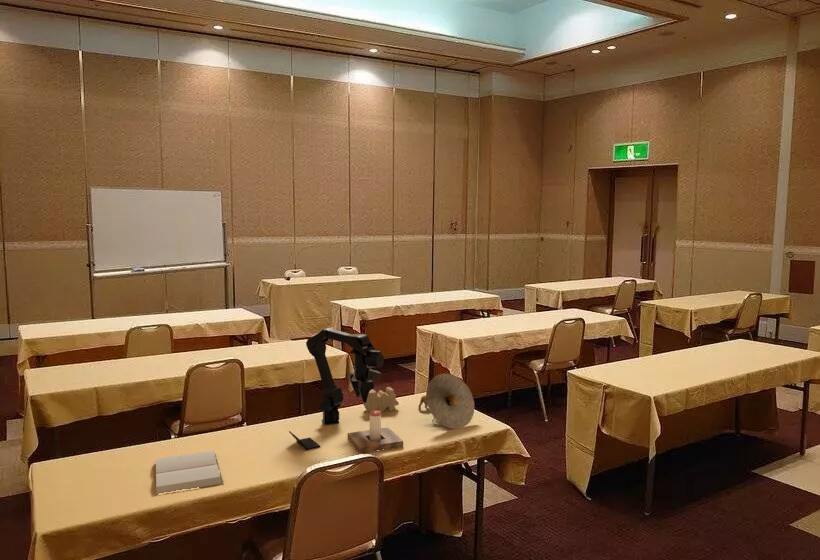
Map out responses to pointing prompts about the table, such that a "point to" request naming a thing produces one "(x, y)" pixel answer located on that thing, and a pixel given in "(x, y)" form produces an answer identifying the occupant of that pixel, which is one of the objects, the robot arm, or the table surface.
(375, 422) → the post
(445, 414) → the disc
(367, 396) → the robot arm
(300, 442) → the black spatula
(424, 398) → the lion figurine
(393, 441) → the jig plate
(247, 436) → the table surface
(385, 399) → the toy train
